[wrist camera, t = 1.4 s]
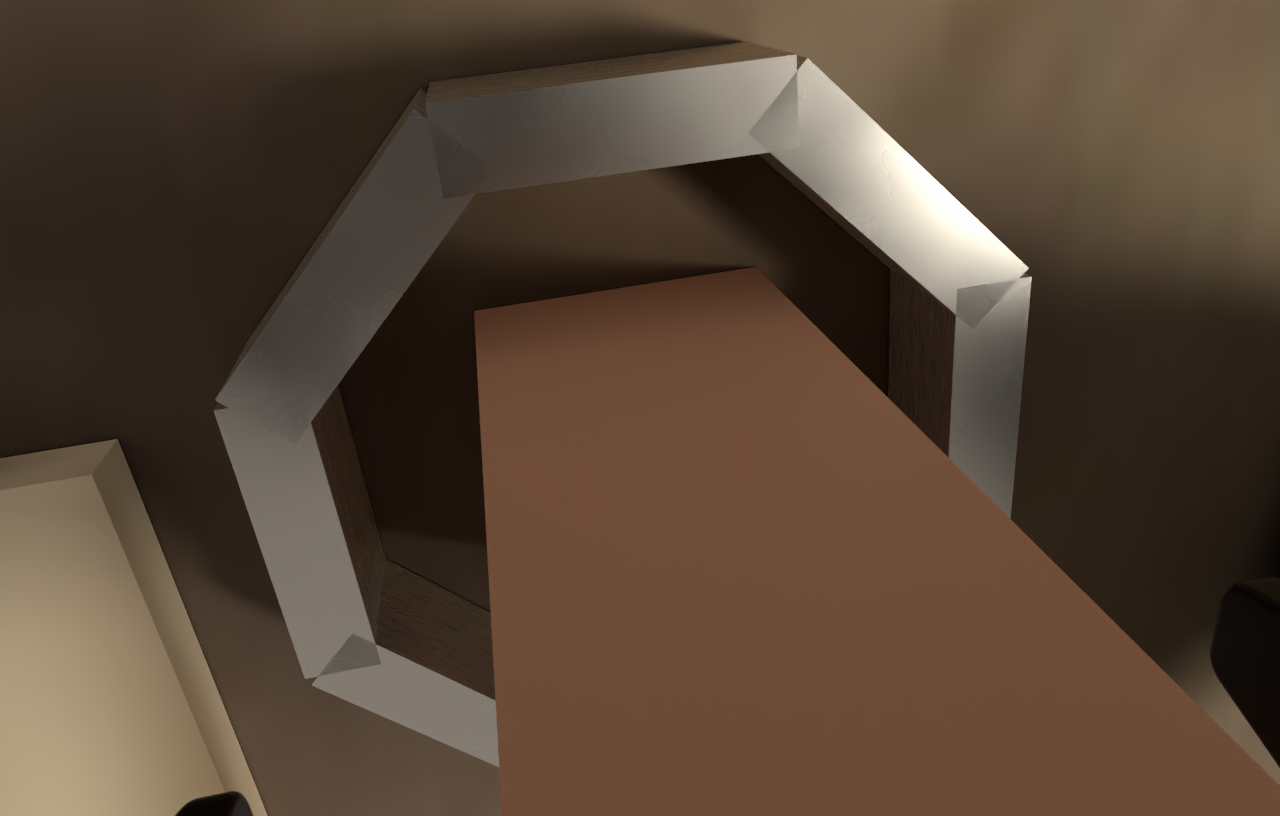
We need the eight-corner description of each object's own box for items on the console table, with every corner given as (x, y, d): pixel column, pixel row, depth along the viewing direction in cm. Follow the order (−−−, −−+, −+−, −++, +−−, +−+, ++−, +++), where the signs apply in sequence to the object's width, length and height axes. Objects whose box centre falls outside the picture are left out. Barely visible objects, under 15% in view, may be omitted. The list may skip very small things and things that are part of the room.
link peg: (755, 266, 13) (1378, 884, 4) (767, 505, 15) (1225, 1291, 6) (473, 310, 13) (519, 1104, 4) (519, 551, 15) (623, 1477, 6)
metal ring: (966, 13, 12) (1053, 20, 10) (937, 618, 17) (995, 696, 15) (175, 114, 11) (121, 141, 9) (369, 734, 15) (358, 834, 14)
